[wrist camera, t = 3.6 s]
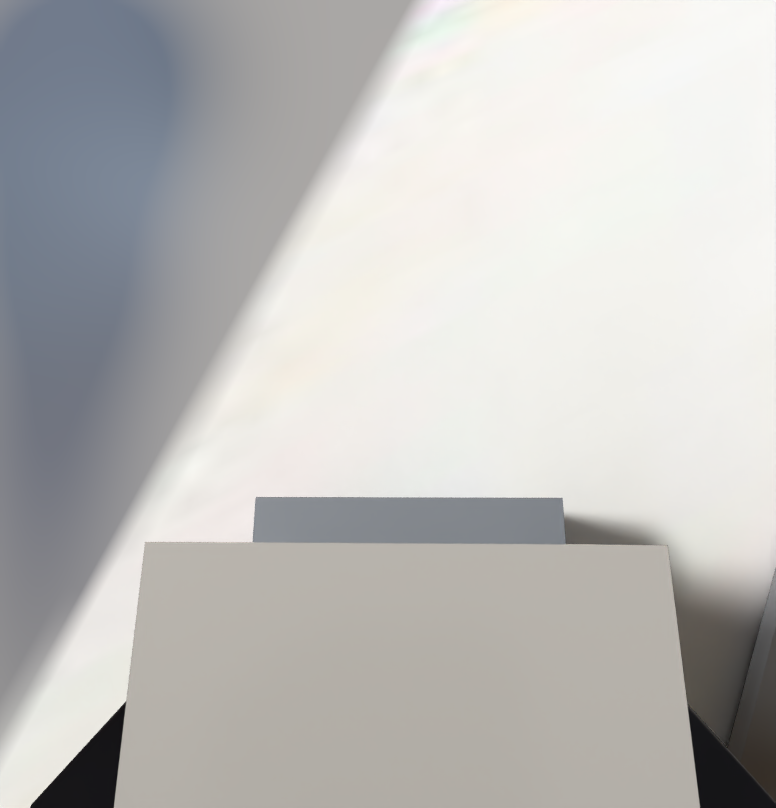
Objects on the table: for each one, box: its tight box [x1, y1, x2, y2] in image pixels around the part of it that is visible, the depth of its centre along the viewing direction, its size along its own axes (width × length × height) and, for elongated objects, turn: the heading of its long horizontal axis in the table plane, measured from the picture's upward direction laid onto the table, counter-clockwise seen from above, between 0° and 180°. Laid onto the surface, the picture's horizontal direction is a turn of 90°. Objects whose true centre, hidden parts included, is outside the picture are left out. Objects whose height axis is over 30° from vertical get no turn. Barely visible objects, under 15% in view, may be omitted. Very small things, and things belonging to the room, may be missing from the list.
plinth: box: [253, 497, 566, 544], centre depth 13 cm, size 7×7×4 cm
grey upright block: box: [114, 542, 700, 808], centre depth 8 cm, size 5×5×7 cm
